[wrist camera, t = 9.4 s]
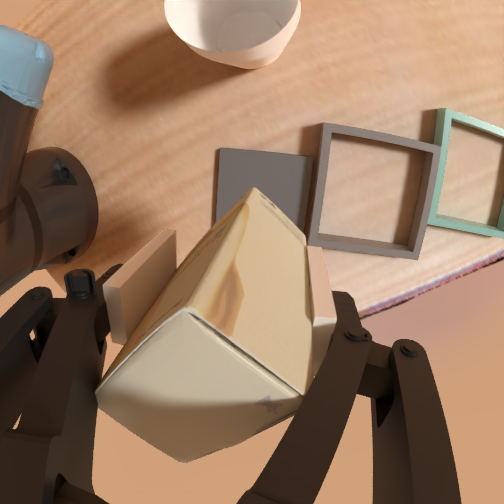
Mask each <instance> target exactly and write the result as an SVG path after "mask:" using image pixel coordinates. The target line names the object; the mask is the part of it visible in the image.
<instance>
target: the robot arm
mask: <svg viewBox="0 0 504 504" xmlns="http://www.w3.org/2000/svg"><path fill="white" fill-rule="evenodd" d="M53 61H54V56H53V52H52V49H51V47H50V46H49V45H48V44H47V43H46V42H44V41H43V40H41V39H38V38H36V37H34V36H31V35H29V34H26V33H24V32H21V31H18V30H16V29H13V28H10V27H8V26H5V25H2V24H0V296H1V295H2V294H4V293H5V292H6V291H7V290H9V289H10V288H12V287H13V286H14V285H15V284H17V283H18V282H19V281H21V280H22V279H23V278H25V277H26V276H27V275H29V274H30V273H32V272H33V271H35V270H41V269H47V268H52V267H57V266H62V265H65V264H68V263H70V262H72V261H73V260H75V259H76V258H77V257H79V256H80V255H82V254H83V253H84V252H85V251H86V250H87V249H88V248H89V246H90V245H91V243H92V241H93V239H94V236H95V233H96V229H97V224H98V203H97V197H96V193H95V189H94V186H93V183H92V181H91V178H90V176H89V174H88V173H87V171H86V169H85V168H84V166H83V165H82V164H81V163H80V161H79V160H78V159H77V158H76V157H75V156H73V155H72V154H71V153H69V152H67V151H66V150H63V149H61V148H57V147H46V148H41V149H37V150H33V151H31V152H29V153H27V154H26V151H27V147H28V143H29V139H30V135H31V132H32V128H33V125H34V121H35V118H36V115H37V112H38V109H40V108H41V107H42V105H43V94H44V91H45V88H46V85H47V82H48V79H49V76H50V73H51V70H52V67H53ZM307 261H308V275H309V291H310V306H311V325H312V347H313V376H315V378H314V380H313V382H312V384H311V386H310V388H309V390H308V392H307V394H306V395H305V397H304V399H303V401H302V403H301V405H300V407H299V409H298V410H297V412H296V414H295V416H294V418H293V420H292V421H291V423H290V425H289V427H288V429H287V430H286V432H285V434H284V436H283V438H282V439H281V441H280V443H279V444H278V446H277V448H276V450H275V451H274V453H273V455H272V457H271V458H270V460H269V461H268V463H267V464H266V466H265V468H264V469H263V471H262V473H261V474H260V476H259V477H258V479H257V480H256V482H255V483H254V485H253V486H252V487H251V489H249V490H247V491H246V492H245V493H244V494H243V495H242V497H241V498H240V499H239V501H238V502H237V504H313V503H314V501H315V499H316V497H317V495H318V492H319V490H320V488H321V486H322V483H323V481H324V479H325V477H326V474H327V472H328V469H329V467H330V465H331V462H332V460H333V457H334V455H335V452H336V450H337V447H338V444H339V442H340V440H341V437H342V434H343V431H344V429H345V426H346V423H347V420H348V418H349V415H350V412H351V409H352V406H353V403H354V400H355V397H356V394H359V395H363V396H366V397H370V398H371V413H372V434H373V435H372V437H373V504H461V497H460V491H459V484H458V478H457V472H456V467H455V461H454V456H453V452H452V447H451V442H450V437H449V433H448V429H447V424H446V420H445V416H444V412H443V408H442V405H441V401H440V397H439V394H438V390H437V387H436V383H435V380H434V376H433V373H432V370H431V366H430V363H429V360H428V357H427V354H426V351H425V350H424V348H423V347H422V346H421V345H420V344H419V343H417V342H415V341H413V340H409V339H400V340H397V341H395V342H394V344H393V346H392V348H391V347H388V346H384V345H381V344H378V343H375V342H374V341H372V336H371V334H370V333H369V331H367V330H366V329H364V328H362V325H361V322H360V318H359V315H358V312H357V309H356V306H355V302H354V299H353V298H352V297H351V296H350V295H349V294H348V293H347V292H340V291H331V287H330V282H329V278H328V273H327V269H326V264H325V260H324V256H323V251H322V247H315V246H307ZM176 270H177V269H176V230H168V229H163V230H161V231H160V232H159V233H158V234H157V235H156V236H155V237H154V238H152V239H151V240H150V241H149V242H148V243H147V244H146V245H145V246H144V247H142V248H141V249H140V250H139V251H138V252H137V253H136V254H135V255H134V256H133V257H132V258H130V259H129V260H128V261H127V262H126V263H125V264H117V265H115V266H113V267H111V268H110V269H109V270H108V271H106V272H105V273H104V274H103V275H102V276H101V278H99V279H98V280H97V281H95V274H94V272H93V271H92V270H89V269H76V270H72V271H70V272H68V273H66V274H65V275H64V280H65V286H66V291H67V297H66V298H53V297H52V292H51V290H50V289H49V288H47V287H35V288H33V289H31V290H29V291H28V292H26V293H25V294H24V295H23V296H22V297H21V298H20V299H19V300H18V301H17V302H16V303H15V304H14V305H13V306H12V307H11V308H10V309H9V310H8V311H7V312H6V313H5V314H4V315H3V316H2V317H1V318H0V504H109V503H107V502H106V501H104V500H103V499H101V498H100V497H98V496H97V495H95V493H94V490H93V486H92V464H93V449H94V438H95V427H96V418H97V409H98V402H97V399H96V395H95V390H96V388H97V386H98V384H99V383H100V381H101V379H102V372H103V367H104V360H105V355H106V349H107V342H106V336H107V335H108V333H109V332H110V333H111V338H112V342H114V343H117V344H122V345H125V343H126V342H127V340H128V339H129V337H130V336H131V334H132V333H133V331H134V330H135V328H136V327H137V326H138V324H139V323H140V321H141V320H142V318H143V317H144V315H145V314H146V313H147V311H148V310H149V308H150V307H151V306H152V304H153V303H154V301H155V300H156V298H157V297H158V295H159V294H160V293H161V291H162V290H163V288H164V287H165V286H166V284H167V283H168V282H169V280H170V279H171V277H172V276H173V274H174V273H175V271H176ZM32 330H33V331H34V334H35V338H34V339H33V340H31V338H30V335H29V334H30V333H31V331H32ZM21 413H22V414H21ZM20 415H21V417H20V421H19V424H18V427H17V428H16V429H12V428H13V427H14V425H15V423H16V422H17V420H18V418H19V416H20Z"/></svg>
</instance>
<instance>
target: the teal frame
mask: <svg viewBox="0 0 504 504" xmlns="http://www.w3.org/2000/svg"><path fill="white" fill-rule="evenodd" d="M451 120H452V121H455V122H458V123H461V124H464V125H467V126H470V127H473V128H476V129H479V130H481V131H484V132H487V133H489V134H492V135H495V136H497V137H500V138H502V139H504V129H502V128H499V127H497V126H494V125H492V124H489V123H487V122H484V121H481V120H479V119H476V118H473V117H471V116H468V115H465V114H462V113H459V112H456V111H453V110H450V109H447V108H439V109H437V119H436V128H435V136H434V144H433V145H436V146H440V147H441V153H440V160H439V166H438V172H437V178H436V184H435V189H434V194H433V199H432V204H431V209H430V213H429V218H428V222H427V224H430V225H436V226H441V227H446V228H452V229H457V230H462V231H467V232H472V233H477V234H482V235H487V236H492V237H497V238H501V239H504V198H503V202H502V207H501V211H500V215H499V219H498V223H497V227H495V226H491V225H486V224H482V223H477V222H473V221H468V220H463V219H458V218H454V217H449V216H444V215H439V214H436V212H437V208H438V203H439V198H440V193H441V188H442V183H443V177H444V171H445V165H446V159H447V152H448V145H449V137H450V129H451Z"/></svg>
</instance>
